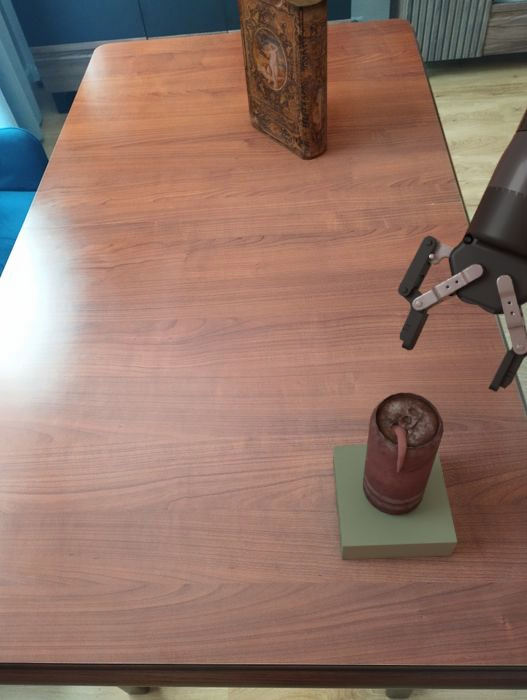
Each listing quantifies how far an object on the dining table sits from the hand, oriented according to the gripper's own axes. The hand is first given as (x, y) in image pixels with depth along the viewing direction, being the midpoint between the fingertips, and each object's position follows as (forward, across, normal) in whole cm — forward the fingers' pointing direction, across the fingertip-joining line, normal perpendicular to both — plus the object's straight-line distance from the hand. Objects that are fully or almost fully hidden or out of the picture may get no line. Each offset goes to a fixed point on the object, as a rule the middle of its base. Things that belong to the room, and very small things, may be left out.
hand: (449, 368), depth 54 cm
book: (-20, -49, +43) cm, 68 cm away
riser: (+17, 0, +6) cm, 18 cm away
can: (+14, 0, +3) cm, 15 cm away
